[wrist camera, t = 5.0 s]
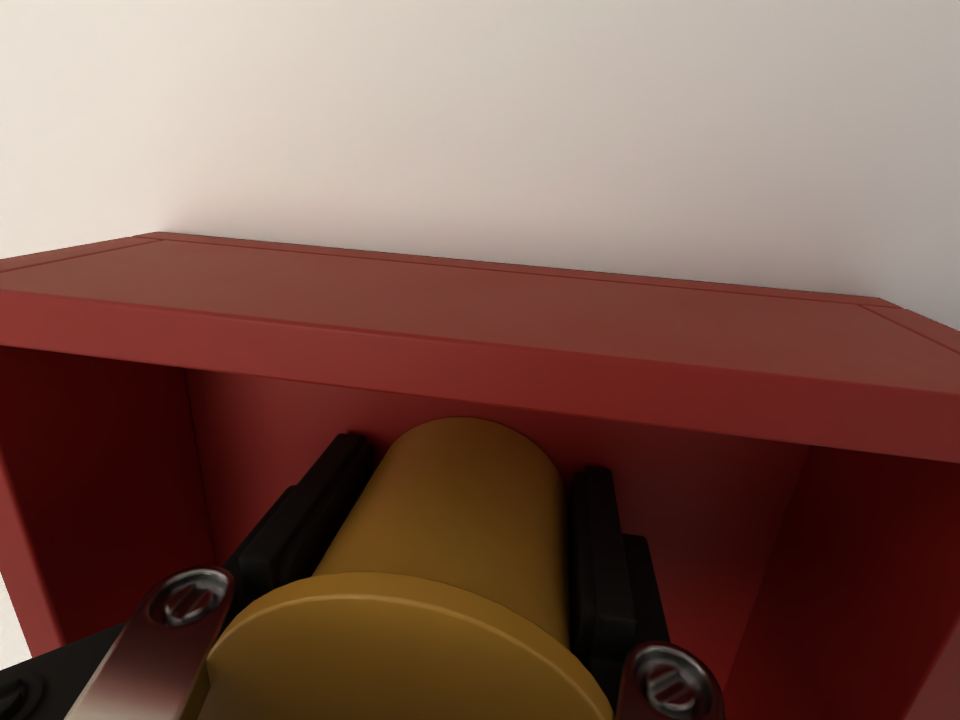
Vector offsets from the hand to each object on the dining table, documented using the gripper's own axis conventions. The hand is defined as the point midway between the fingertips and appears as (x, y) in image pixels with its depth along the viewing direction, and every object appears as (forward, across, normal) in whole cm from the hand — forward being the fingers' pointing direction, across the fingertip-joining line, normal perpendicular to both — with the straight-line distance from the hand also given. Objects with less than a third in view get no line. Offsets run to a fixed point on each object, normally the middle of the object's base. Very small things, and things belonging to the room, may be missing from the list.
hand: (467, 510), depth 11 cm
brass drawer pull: (0, 0, 0) cm, 0 cm away
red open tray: (+1, 0, +2) cm, 3 cm away
